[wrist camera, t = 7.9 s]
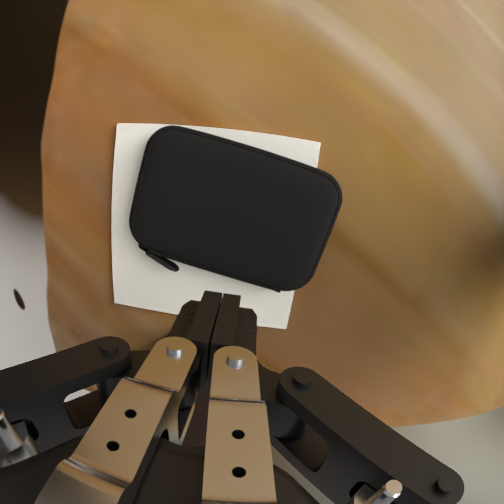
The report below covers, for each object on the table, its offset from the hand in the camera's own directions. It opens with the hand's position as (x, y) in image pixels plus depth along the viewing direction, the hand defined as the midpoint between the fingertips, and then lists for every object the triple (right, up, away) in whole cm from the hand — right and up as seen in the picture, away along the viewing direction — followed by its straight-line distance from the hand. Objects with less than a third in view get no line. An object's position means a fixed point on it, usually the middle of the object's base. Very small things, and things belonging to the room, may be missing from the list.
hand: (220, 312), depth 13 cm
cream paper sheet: (-3, +4, +12) cm, 13 cm away
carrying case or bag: (+7, +3, +10) cm, 13 cm away
